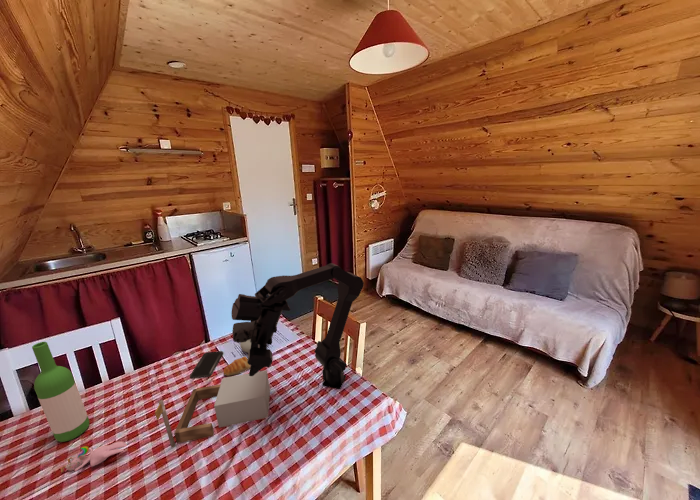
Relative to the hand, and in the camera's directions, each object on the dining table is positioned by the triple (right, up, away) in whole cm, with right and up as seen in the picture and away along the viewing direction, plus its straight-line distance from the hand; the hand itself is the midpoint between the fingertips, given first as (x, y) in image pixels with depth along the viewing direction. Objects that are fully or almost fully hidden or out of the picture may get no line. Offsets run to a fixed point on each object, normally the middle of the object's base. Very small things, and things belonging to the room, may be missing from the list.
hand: (251, 364), depth 88 cm
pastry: (-13, -11, +24) cm, 29 cm away
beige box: (-3, -16, +5) cm, 17 cm away
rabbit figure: (-38, -22, -10) cm, 45 cm away
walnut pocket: (-16, -17, +1) cm, 24 cm away
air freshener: (-10, -8, +36) cm, 39 cm away
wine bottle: (-53, -20, 0) cm, 57 cm away
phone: (-26, -11, +28) cm, 40 cm away
